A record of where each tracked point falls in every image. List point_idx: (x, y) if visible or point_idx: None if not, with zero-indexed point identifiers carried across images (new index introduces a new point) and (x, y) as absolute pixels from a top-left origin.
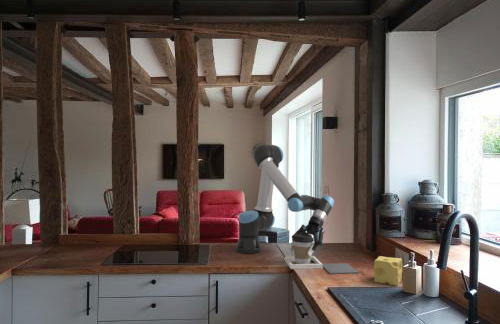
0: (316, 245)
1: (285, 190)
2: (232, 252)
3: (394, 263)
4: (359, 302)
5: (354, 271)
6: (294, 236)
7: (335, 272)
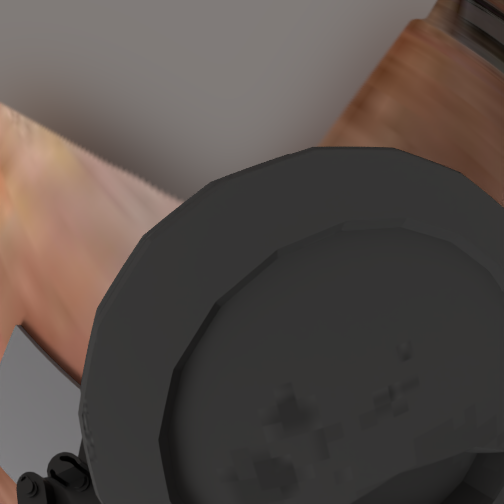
0: (87, 463)
1: None
2: None
3: None
4: None
5: None
6: (448, 175)
7: (6, 354)
